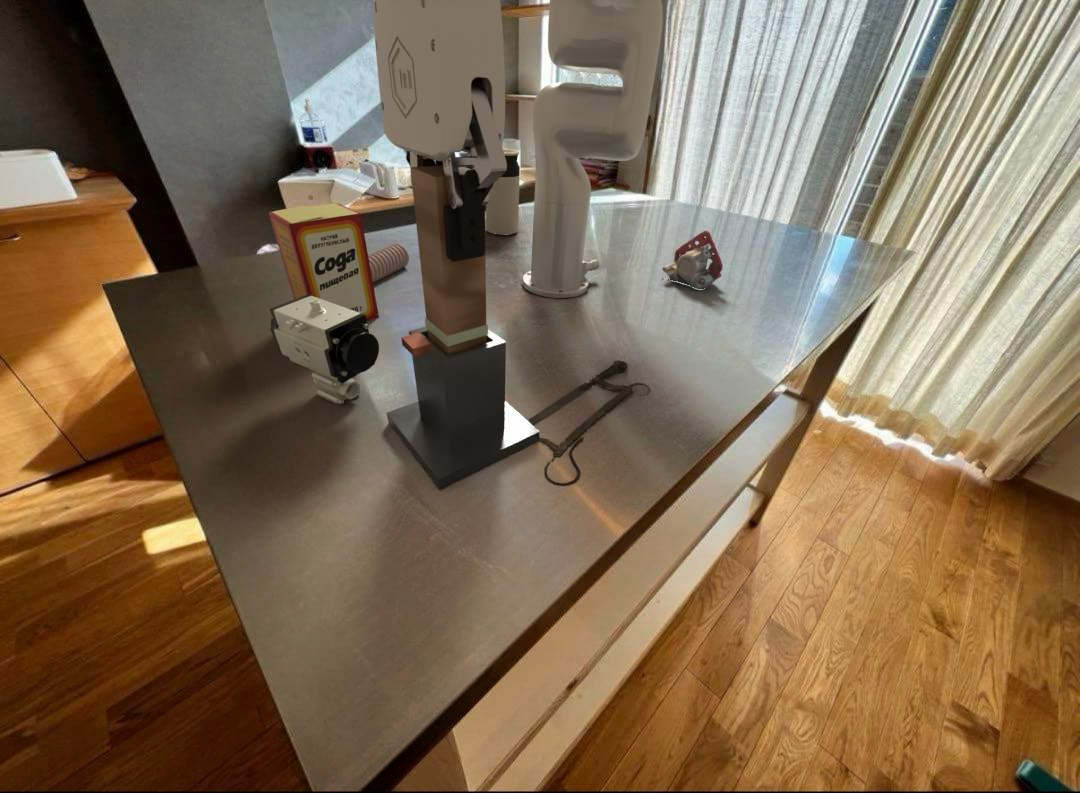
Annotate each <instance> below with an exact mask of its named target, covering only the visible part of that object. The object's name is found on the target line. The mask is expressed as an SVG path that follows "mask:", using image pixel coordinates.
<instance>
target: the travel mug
mask: <svg viewBox="0 0 1080 793" xmlns="http://www.w3.org/2000/svg"><path fill="white" fill-rule="evenodd" d="M502 149H503V152H504V155H505V159H506V163H507V169H506V172H505V173H504V174H503V175H502V176H501V177H500V178H499V179H498V180H497V181H496V182H495V183H494V185H493V187H492V188H491V190H490V192H489V202H488V204H487V205H485V230H486V229H487V230H486V231H487V232H488V233H490V232H491V233H490V234H492V233H496V234H511V233H515V232H516V231H519V213H520V212H519V210H520V209H519V207H520V206H519V205H520V203H519V202H520V172H521V171H520V170H521V168H520V165H519V162H518V156H519V154H520V151H518V150H516V149H511V148H503V147H502ZM515 234H516V233H515Z"/></svg>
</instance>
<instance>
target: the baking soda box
mask: <svg viewBox="0 0 1080 793" xmlns="http://www.w3.org/2000/svg"><path fill="white" fill-rule="evenodd" d="M268 215H269V216H268V217H269V218H270V223H271V226H272V230H273V233H274V236H275V239H276V243H277V247H278V249H279V252H280V256H281V260H282V263H283V267H284V269H285V272H286V276H287V281H288V283H289V287H290V291H291V294H292V297H293V300H294V299H297V298H299V297H302V296H305V295H307V294H308V295H311V296H313V297H316V298H319V299H322V300H325V301H328V302H330V303H333V304H336V305H339V306H342V307H345V308H347V309H350V310H353V311H356V312H359V313H361V314H364V315H366V320H367V322H368V321H371V320H374V319H376V318H380V315H379V310H378V304H377V299H376V298H377V297H376V292H375V287H374V283H373V280H372V275H371V269H370V263H369V258H368V255H369V252H368V247H367V241H366V235H365V232H364V231H365V230H364V225H363V219H362V214H361V212H358V211H357V210H355V209H352V208H350V207H347V206H345V205H343V204H340V203H331V204H321V205H313V206H307V205H298V206H296V207H295V206H294V207H289V208H283V209H280V210H274V211H269V212H268Z"/></svg>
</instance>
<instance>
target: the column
mask: <svg viewBox="0 0 1080 793" xmlns="http://www.w3.org/2000/svg"><path fill="white" fill-rule="evenodd" d="M409 168H410V169H411V172H410V179H411V178H412V185H411V186H412V195H413V203H414V204H413V206H414V215H415V223H416V224H415V225H416V234H417V244H418V251H419V254H418V255H419V261H420V262H419V263H420V272H421V273H420V274H421V281H422V282H421V283H422V291H423V300H424V310H425V317H424V323H425V325H424V326H425V327H426V328H427V330H428V340H429V341H431V342H432V343H433V344H434V345H435V346H436V347H437V348H438V349H439V350H441V351H442V352H443V353H444V354H445V355H446V356H447V355H450V354H453V353H456V352H459V351H463V350H466V349H469V348H472V347H475V346H479V345H482V344H485V343H487V335H488V329H489V325H488V323H487V284H486V282H487V281H486V280H487V276H486V275H487V273H486V272H487V271H486V270H487V269H486V268H487V266H486V265H487V264H486V253H485V254H484V255H483V256H482V257H477V258H471V259H466V260H461V261H456V262H453V261H451V260H450V259H448V257H447V247H446V233H445V218H444V206H449V205H450V204H449V200H448V193H447V187H446V180H445V173H444V166H443V165H442V166H424V167H410V166H409ZM467 170H472V169H471V168H468V167H459V175H460V182H461V180H462V178H463V176H464V174H465V172H466V171H467Z"/></svg>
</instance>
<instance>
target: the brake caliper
mask: <svg viewBox="0 0 1080 793" xmlns="http://www.w3.org/2000/svg"><path fill="white" fill-rule="evenodd" d="M696 242H698V244H696ZM709 247H710V248H709ZM673 259H674V260H673V261H672V262H671V263H669V264H666V265H664V266H663V267H662V268H661V269H662V271H663V273H665V275H667V277H668V276H669V278H670V280H669V281H671V280H673V281H678V282H681V283H684V284H687V285H690V286H691V287H694V288H697V289H704V288H706V289H707V288H708V287H709V286H711V285H712V284H713V283H714V282H715V281H717V280H718V279H720V278H721V277H722V271H723V262H722V259H721V257H720V254H719V252H718V249H717V246H716V245H715V242H714V240H713V237H712V235H711V233H710V232H709V231H708V230H703V231H701V232H700V233H698V234H697V235H695V236H694V237H693V238H691V239H690V240H688V241H687V242H685V243H683V244H682V245H681V246H680V247H679V248H678V249H676V250H675V252H674V258H673ZM708 259H710V261H711V262H710V263H709V265H708ZM707 266H708V267H707ZM691 287H690V288H691Z"/></svg>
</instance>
